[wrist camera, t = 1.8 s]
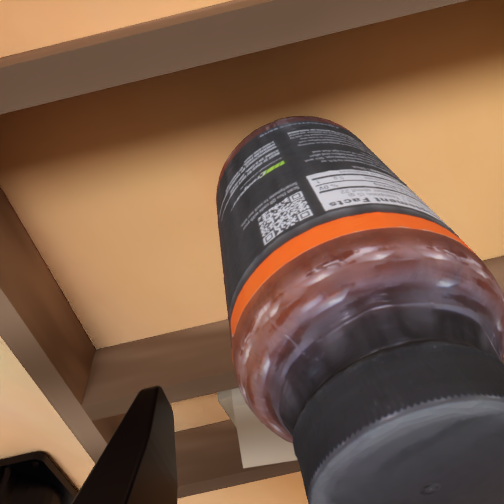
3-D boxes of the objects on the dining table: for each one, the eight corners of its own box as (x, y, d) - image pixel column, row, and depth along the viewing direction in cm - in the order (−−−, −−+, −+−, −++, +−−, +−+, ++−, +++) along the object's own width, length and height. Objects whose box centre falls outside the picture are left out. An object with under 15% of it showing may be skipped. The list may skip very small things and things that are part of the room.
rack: (528, 364, 24) (568, 411, 21) (136, 452, 24) (129, 508, 21) (634, -99, 12) (745, -116, 10) (-98, 82, 13) (-169, 109, 10)
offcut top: (424, 410, 21) (438, 438, 20) (240, 437, 21) (243, 468, 19) (438, 346, 19) (456, 373, 17) (230, 375, 18) (232, 406, 17)
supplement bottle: (321, 273, 19) (450, 586, 9) (190, 228, 17) (184, 563, 7) (402, 149, 16) (705, 413, 6) (257, 79, 14) (386, 305, 5)
